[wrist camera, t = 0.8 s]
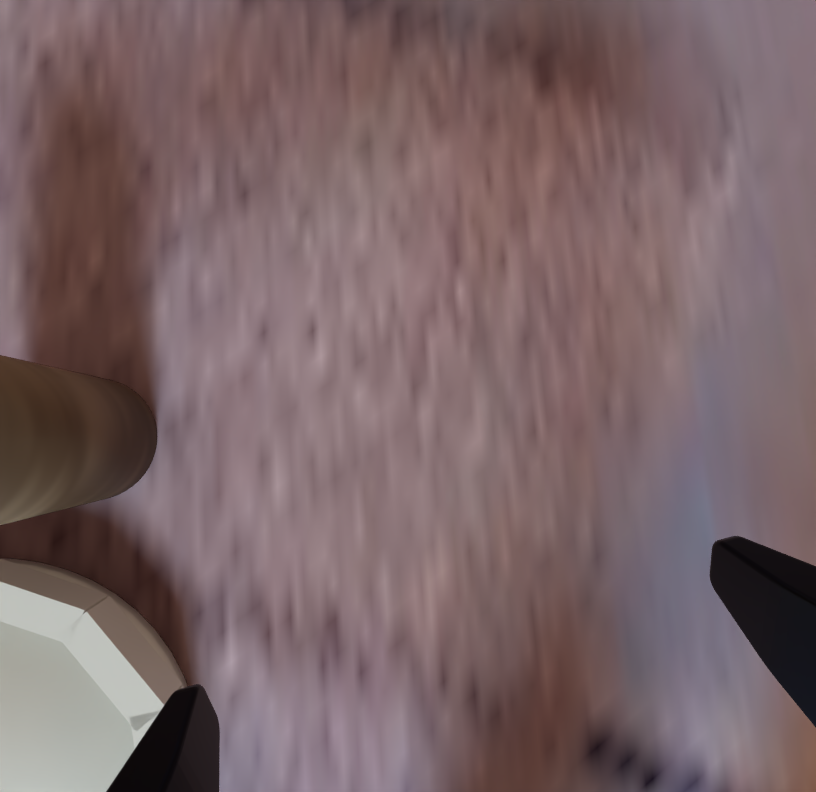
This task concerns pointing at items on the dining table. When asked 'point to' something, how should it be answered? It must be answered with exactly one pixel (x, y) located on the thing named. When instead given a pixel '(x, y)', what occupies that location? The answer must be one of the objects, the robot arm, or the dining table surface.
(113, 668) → the dish
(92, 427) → the pepper mill
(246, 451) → the dining table surface
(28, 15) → the dining table surface
